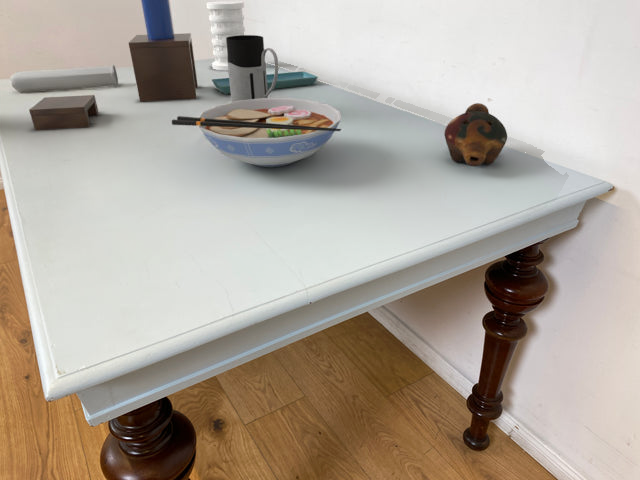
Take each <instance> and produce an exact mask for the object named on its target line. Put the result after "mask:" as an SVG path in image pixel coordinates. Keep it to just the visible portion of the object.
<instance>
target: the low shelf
mask: <svg viewBox="0 0 640 480" xmlns="http://www.w3.org/2000/svg"><path fill="white" fill-rule="evenodd" d="M99 113H100V112H99V108H98V104H97V99H96V95H95V94H87V95H86V94H85V95H67V96H47V97H43V98H42V99H41V100H39V101H38V102H37V103H36V104H34V105H33V106H32V107H31V108H29V115H30V118H31V121H32V124H33V127H34V131H44V130H45V131H47V130H60V129H61V130H62V129H77V128H89V127H91V121H90V117H94V116H98V115H99Z"/></svg>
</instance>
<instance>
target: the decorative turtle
mask: <svg viewBox="0 0 640 480" xmlns="http://www.w3.org/2000/svg"><path fill="white" fill-rule="evenodd" d="M444 140H445V142H446V143H445V144H446V146H447V149H448V152H449V155H450V158H451V161H452V162H454V163H460V162H462V161H463V160H464V161H465V163H466V164H467V165H469V166H472V167H479V166H481V165H482V164H483V163H484V164H485V165H492V164H493V163H494V162H495V161H496V159H497V158H498V157H499V155H500V154H501V152H502V151H503V149H504V147H505V145H506V143H507V142H508V141H507V140H508V132H507V129H506V127H505V125H504V124H503V123H502V121H501V120H500V119H498V117H496V116H494V115H493V114H491V113H490V112H489V108H488V106H486V105H485V104H483V103H479V102H477V103H473V104H471V105H469V106H468V107H467V108H466V110H465V112H464V113H461V114H459V115H457V116H456V117H454V118H453V119H452V120H450V122H449V123H448V124H447V125H446V126H445V128H444Z"/></svg>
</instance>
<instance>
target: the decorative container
mask: <svg viewBox="0 0 640 480" xmlns="http://www.w3.org/2000/svg"><path fill="white" fill-rule="evenodd" d="M205 5H206V9H207V10H209V16H208V20H209V22H210V33H211V44H212V46H213V50H212V54H213V56H214V61H213V62H212V63H211V65H212V69H213V70H216V71H222V72H223V71H225V72H226V71H227V72H229V71H228V61H227V56H228V53H227V42H226V38H227V37H231V36H239V35H245V30H246V28H245V25H244V19H245V16H244V14H243V8H245V2H244V1H239V0H222V1H221V0H220V1H219V0H218V1H209V2H205Z"/></svg>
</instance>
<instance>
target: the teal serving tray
mask: <svg viewBox="0 0 640 480" xmlns="http://www.w3.org/2000/svg"><path fill="white" fill-rule="evenodd" d="M266 76H267V90H269V89H270V88H271V86H272V83H273V79H274V73H268V74H267V73H266ZM318 78H319V77H318V76H317V75H315V74H312V73H310V72H308V71H303V70H302V71H291V72H290V71H289V72H278V77H277V81H276V84H275V87H274V89H273V90H275V89H276V90H277V89H284V88H293V87H302V86H312V85H314V84H315V83H316V81H317V80H318ZM211 82H212V84H213V85H214V86H215V89H217V90H218V91H219V92H221V93H223V94H225V95H226V94H231V91H230V81H229V77H225V78H224V77H223V78H221V77H220V78H213V79H211Z"/></svg>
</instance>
